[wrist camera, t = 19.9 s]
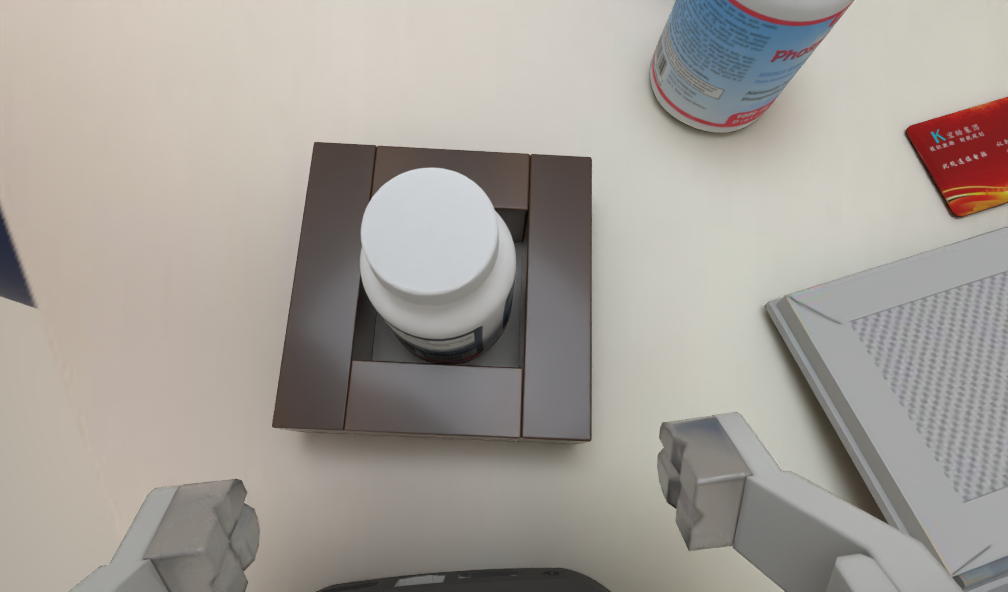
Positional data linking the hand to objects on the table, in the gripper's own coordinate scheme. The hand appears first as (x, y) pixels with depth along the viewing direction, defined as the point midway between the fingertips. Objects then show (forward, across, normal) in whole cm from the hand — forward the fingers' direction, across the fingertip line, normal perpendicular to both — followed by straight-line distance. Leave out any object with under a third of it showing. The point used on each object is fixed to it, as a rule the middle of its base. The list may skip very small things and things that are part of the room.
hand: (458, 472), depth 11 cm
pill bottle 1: (+14, 0, +4) cm, 14 cm away
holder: (+14, 0, +4) cm, 14 cm away
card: (+15, -27, +3) cm, 31 cm away
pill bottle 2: (+21, -14, -3) cm, 25 cm away
